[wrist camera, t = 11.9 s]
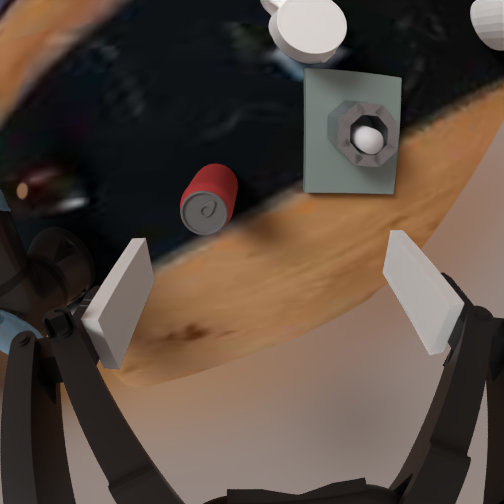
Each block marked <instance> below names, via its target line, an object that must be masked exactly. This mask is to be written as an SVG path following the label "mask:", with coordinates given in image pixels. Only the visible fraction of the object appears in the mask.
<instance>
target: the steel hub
mask: <svg viewBox="0 0 504 504" xmlns="http://www.w3.org/2000/svg"><path fill="white" fill-rule="evenodd" d="M361 115H366V116H367V117H368V119H369V120H370V121H371V122H372V128H373V129H375V130H377V131H379V132H380V133H381V135H382V137H383V146H382V148H381V150H380V151H379V152H378V153H376V154H367V153H365V152H364V151H362V150H360V149H359V148H357V147H356V146H353V145H352V144H351V143H350V125H351V124H353V123H354V122H355V121H356V120H357V119H358V118H359V117H360V116H361ZM398 137H399V124H398V123H397V122H396V120H395V119H394V118H393V116H392V115H391V114H390V113H389V111H388V110H387V109H386V108H385V106H384V105H381V104H375V103H369V102H360V101H349V100H344V101H343V102H342V103H341V104H340V105H339V106H338V107H337V108H336V109H335V110H333V111H332V112H331V113H330V114H329V115H328V136H327V139H328V140H329V141H330V142H331V143H332V144H333V145H334V146H335V147H336V149H337V150H338V151H339V152H340V153H341V154H342V155H343V156H344V157H345V158H346V159H348V160H349V161H350V162H351V163H352V164H354V165H355V166H371V167H380V166H381V165H382V164H383V163H384V162H385V161H387V160H388V159H389V158H390V157H391V156H392V155H393V154H394V153H395V152H396V151H397V149H398Z"/></svg>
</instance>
